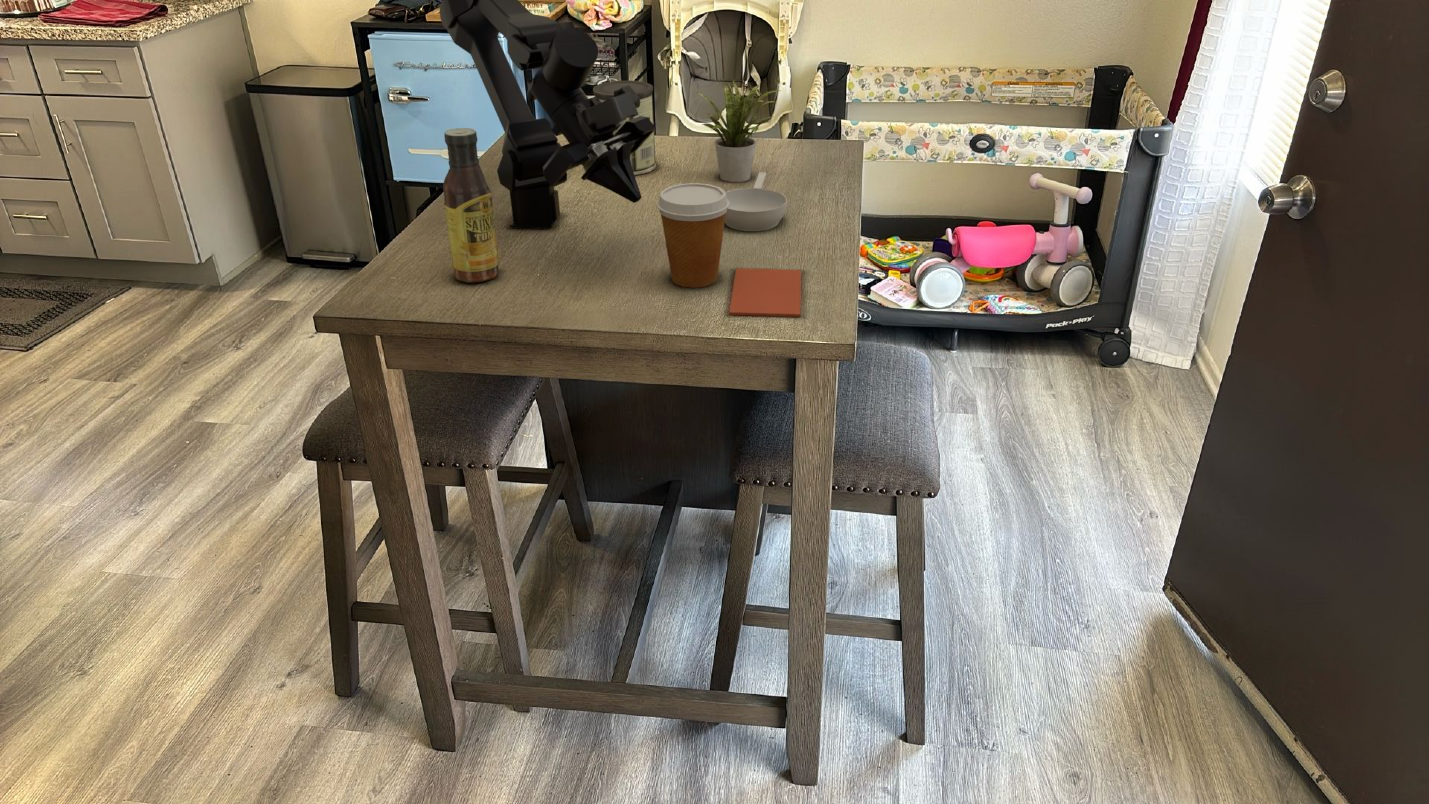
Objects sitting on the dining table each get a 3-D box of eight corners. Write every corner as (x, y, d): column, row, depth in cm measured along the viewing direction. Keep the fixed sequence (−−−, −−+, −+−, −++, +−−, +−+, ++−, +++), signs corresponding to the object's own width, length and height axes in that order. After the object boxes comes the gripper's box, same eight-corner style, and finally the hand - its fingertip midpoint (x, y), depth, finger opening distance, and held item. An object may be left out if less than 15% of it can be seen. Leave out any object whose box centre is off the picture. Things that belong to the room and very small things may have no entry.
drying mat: (729, 315, 125) (729, 312, 125) (736, 270, 137) (736, 268, 137) (800, 317, 124) (800, 314, 124) (801, 272, 136) (801, 269, 136)
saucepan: (711, 231, 150) (711, 207, 148) (730, 192, 165) (730, 170, 163) (782, 235, 148) (782, 211, 146) (794, 196, 163) (795, 173, 161)
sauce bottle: (477, 288, 132) (456, 141, 122) (444, 279, 135) (421, 134, 125) (511, 272, 137) (493, 129, 127) (477, 263, 140) (458, 122, 130)
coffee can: (609, 156, 182) (604, 78, 175) (662, 160, 180) (660, 81, 173) (590, 174, 174) (584, 92, 167) (646, 178, 172) (643, 95, 165)
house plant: (799, 179, 170) (803, 83, 162) (739, 197, 163) (740, 97, 154) (744, 161, 180) (745, 68, 171) (685, 176, 172) (683, 81, 164)
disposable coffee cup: (722, 295, 130) (721, 208, 124) (652, 290, 132) (648, 203, 125) (735, 267, 138) (735, 184, 132) (669, 262, 140) (666, 180, 133)
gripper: (551, 83, 121) (628, 186, 122) (641, 55, 135) (710, 148, 135) (511, 137, 129) (583, 234, 130) (600, 106, 143) (665, 193, 143)
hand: (638, 200), depth 134 cm, fingers closed
